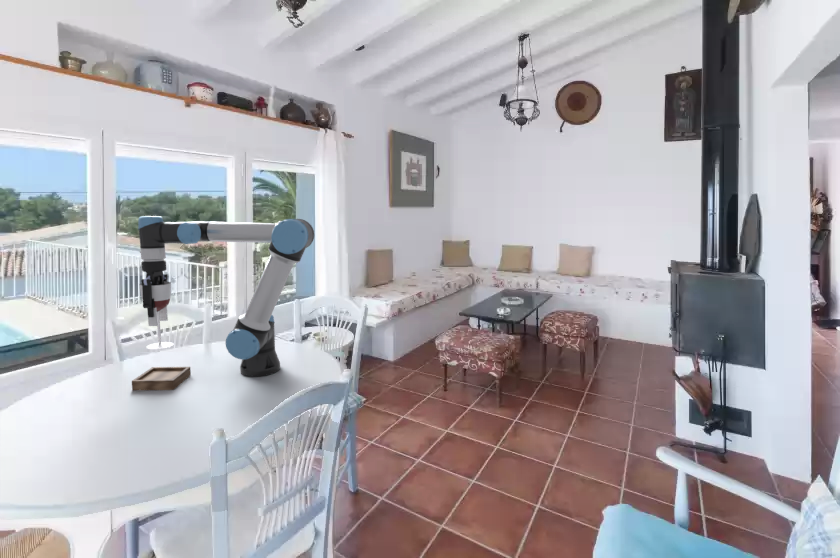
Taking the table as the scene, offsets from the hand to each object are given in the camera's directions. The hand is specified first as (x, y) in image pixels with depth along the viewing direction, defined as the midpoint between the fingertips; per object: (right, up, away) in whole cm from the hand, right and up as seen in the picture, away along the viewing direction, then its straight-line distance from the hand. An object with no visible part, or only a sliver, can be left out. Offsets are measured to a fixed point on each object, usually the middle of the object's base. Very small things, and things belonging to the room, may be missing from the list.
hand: (158, 322), depth 158 cm
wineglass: (0, -9, +1) cm, 9 cm away
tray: (0, -22, +3) cm, 23 cm away
